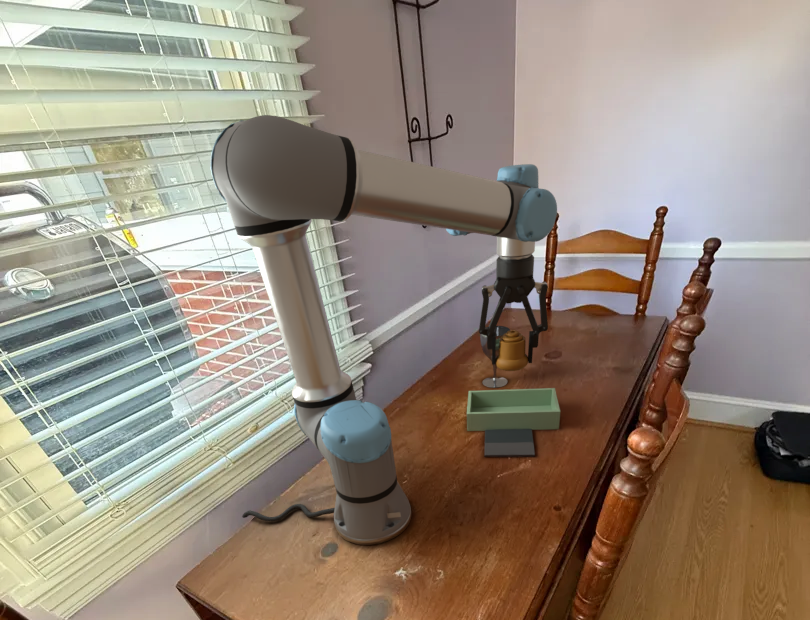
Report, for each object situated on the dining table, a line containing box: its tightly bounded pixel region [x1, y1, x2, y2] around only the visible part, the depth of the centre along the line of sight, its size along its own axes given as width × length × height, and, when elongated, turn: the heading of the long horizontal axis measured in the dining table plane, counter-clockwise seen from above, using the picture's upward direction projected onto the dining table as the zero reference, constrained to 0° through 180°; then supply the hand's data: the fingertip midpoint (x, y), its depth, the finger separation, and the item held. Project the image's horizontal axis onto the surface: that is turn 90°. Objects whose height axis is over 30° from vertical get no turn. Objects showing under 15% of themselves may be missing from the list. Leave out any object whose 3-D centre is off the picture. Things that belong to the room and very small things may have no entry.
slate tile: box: [483, 429, 536, 458], centre depth 110 cm, size 11×11×1 cm
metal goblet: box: [479, 325, 511, 389], centre depth 132 cm, size 8×8×15 cm
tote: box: [466, 387, 561, 432], centre depth 118 cm, size 22×12×5 cm, turn 82°
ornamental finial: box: [495, 329, 529, 372], centre depth 108 cm, size 8×8×8 cm
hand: (511, 361), depth 110 cm, fingers closed on ornamental finial, 7 cm apart
